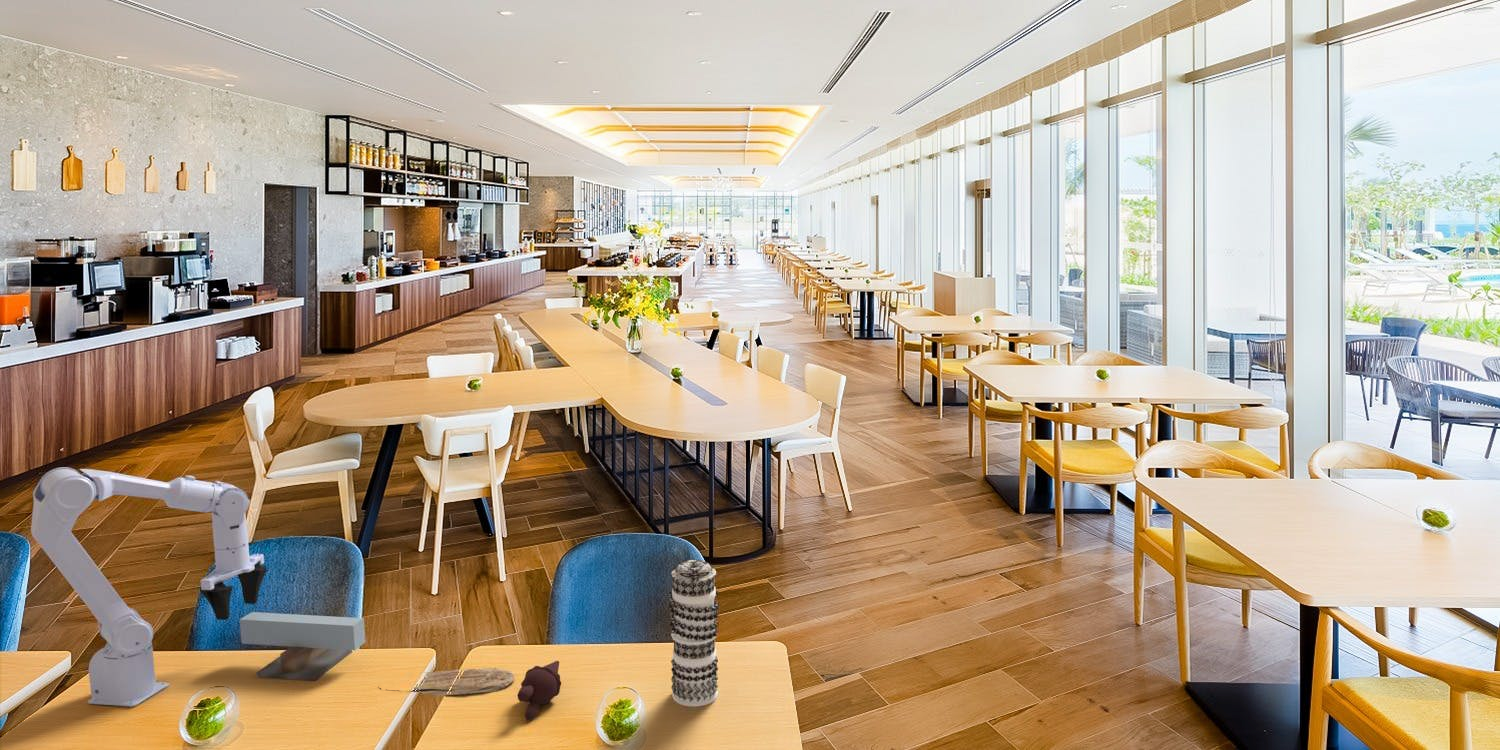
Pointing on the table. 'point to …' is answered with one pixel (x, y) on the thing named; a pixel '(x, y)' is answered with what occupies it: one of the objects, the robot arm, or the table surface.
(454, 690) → the fish fossil
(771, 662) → the table surface
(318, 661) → the fulcrum
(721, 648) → the table surface
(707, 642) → the white patterned cylinder
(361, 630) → the batten
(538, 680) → the icecream
